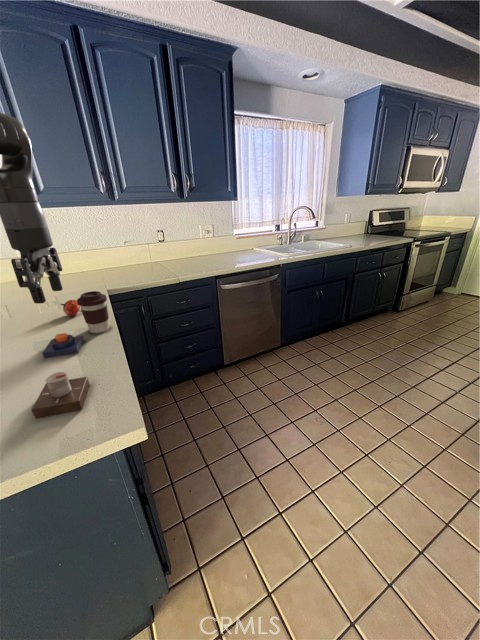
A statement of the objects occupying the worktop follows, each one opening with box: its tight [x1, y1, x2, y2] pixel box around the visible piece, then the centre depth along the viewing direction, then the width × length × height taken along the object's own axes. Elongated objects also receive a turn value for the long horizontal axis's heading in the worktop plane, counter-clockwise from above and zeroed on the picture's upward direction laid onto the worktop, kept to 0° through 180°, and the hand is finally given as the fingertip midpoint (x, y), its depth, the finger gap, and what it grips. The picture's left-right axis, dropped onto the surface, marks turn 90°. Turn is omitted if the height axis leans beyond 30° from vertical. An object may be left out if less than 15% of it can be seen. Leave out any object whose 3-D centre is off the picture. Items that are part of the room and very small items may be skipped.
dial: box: [45, 371, 71, 397], centre depth 66 cm, size 4×4×5 cm
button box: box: [42, 334, 85, 359], centre depth 91 cm, size 10×9×4 cm
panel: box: [31, 376, 91, 420], centre depth 68 cm, size 10×10×3 cm
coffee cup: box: [76, 290, 110, 334], centre depth 102 cm, size 10×10×15 cm
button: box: [54, 332, 68, 342], centre depth 90 cm, size 4×4×2 cm
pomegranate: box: [60, 299, 82, 318], centre depth 117 cm, size 7×7×10 cm
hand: (49, 296), depth 64 cm, fingers open, 8 cm apart
